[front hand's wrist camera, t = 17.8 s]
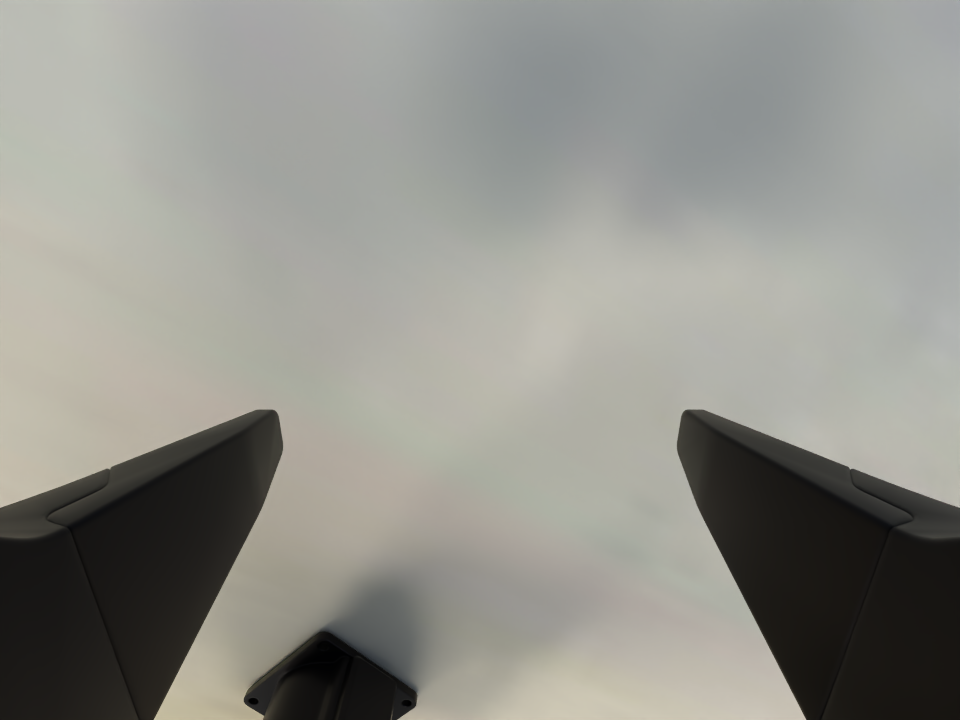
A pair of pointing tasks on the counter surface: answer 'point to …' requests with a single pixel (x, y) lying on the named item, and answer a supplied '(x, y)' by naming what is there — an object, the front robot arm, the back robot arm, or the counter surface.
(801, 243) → the counter surface
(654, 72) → the counter surface
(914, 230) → the counter surface
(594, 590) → the counter surface
